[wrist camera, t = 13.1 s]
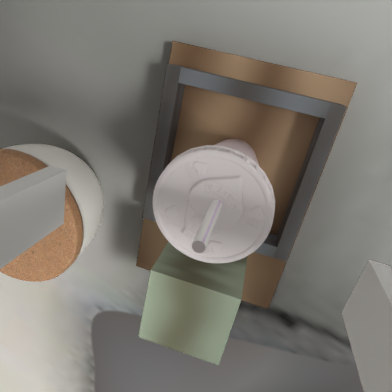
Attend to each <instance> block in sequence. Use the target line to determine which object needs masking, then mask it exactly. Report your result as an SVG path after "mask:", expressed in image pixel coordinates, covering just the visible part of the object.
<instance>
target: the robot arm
mask: <svg viewBox="0 0 392 392" xmlns="http://www.w3.org/2000/svg"><path fill="white" fill-rule="evenodd" d="M65 186H66V170H64V169H61V168H58V167H54V166H48V167H46V168H43V169H41V170H39V171H36V172H34V173H31V174H29V175H27V176H24V177H22V178H19V179H17V180H15V181H12V182H10V183H7V184H5V185H3V186H0V269H1V268H2V267H4V266H5V265H7V264H8V263H9V262H11V261H12V260H14V259H15V258H16V257H18V256H19V255H21V254H22V253H23V252H25V251H26V250H27V249H29V248H30V247H32V246H33V245H34V244H36V243H37V242H39V241H40V240H41V239H43V238H44V237H46V236H47V235H48V234H50V233H51V232H53V231H54V230H55V229H57V228H58V227H60V226H61V225H62V224H64V208H65ZM341 313H342V316H343V320H344V323H345V327H346V331H347V334H348V338H349V341H350V345H351V348H352V352H353V356H354V359H355V363H356V366H357V370H358V373H359V377H360V381H361V384H362V388H363V391H364V392H392V270H391V268H390V266H389V265H386V264H382V263H379V262H376V261H372V260H368V262H367V264H366V266H365V268H364V270H363V272H362V274H361V276H360V277H359V279H358V281H357V283H356V285H355V287H354V289H353V291H352V293H351V295H350V297H349V299H348V300H347V302H346V304H345V306H344V308H343V310H342V312H341Z"/></svg>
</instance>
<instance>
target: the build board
mask: <svg viewBox="0 0 392 392" xmlns="http://www.w3.org/2000/svg"><path fill="white" fill-rule="evenodd" d="M356 85H357V83H356V82H351V81H347V80H342V79H338V78H334V77H329V76H325V75H320V74H316V73H312V72H307V71H303V70H298V69H294V68H290V67H285V66H281V65H277V64H272V63H268V62H263V61H259V60H255V59H250V58H246V57H241V56H237V55H233V54H228V53H224V52H219V51H215V50H211V49H206V48H202V47H197V46H193V45H189V44H184V43H180V42H175V41H172V48H171V54H170V60H169V64H167V67H166V74H165V80H164V86H163V92H162V99H161V105H160V111H159V117H158V124H157V130H156V136H155V142H154V149H153V155H152V161H151V167H150V174H149V180H148V186H147V192H146V199H145V205H144V211H143V217H142V218H144V220H143V226H142V232H141V239H140V245H139V251H138V257H137V263H136V266H138V267H141V268H144V269H147V270H150V271H151V272H150V277H149V282H148V288H147V293H146V298H145V304H144V309H143V315H142V320H141V326H140V331H139V337H140V338H143V339H146V340H148V341H152V342H154V343H157V344H160V345H162V346H165V347H168V348H171V349H174V350H177V351H179V352H182V353H185V354H188V355H190V356H194V357H196V358H199V359H202V360H204V361H208V362H210V363H213V364H216V365H219V363H220V360H221V357H222V354H223V352H224V349H225V345H226V343H227V340H228V337H229V334H230V331H231V328H232V326H233V323H234V320H235V317H236V314H237V311H238V308H239V305H240V302H241V300H242V301H245V302H248V303H251V304H254V305H257V306H260V307H263V308H266V309H268V308H269V305H270V302H271V300H272V297H273V295H274V292H275V290H276V287H277V285H278V282H279V280H280V277H281V275H282V272H283V270H284V267H285V265H286V262H287V259H288V257H289V254H290V252H291V249H292V247H293V244H294V242H295V239H296V237H297V234H298V232H299V229H300V227H301V224H302V222H303V219H304V216H305V214H306V211H307V209H308V206H309V204H310V201H311V199H312V196H313V194H314V191H315V189H316V186H317V184H318V181H319V179H320V176H321V173H322V171H323V168H324V166H325V163H326V161H327V158H328V156H329V153H330V151H331V148H332V146H333V143H334V141H335V138H336V135H337V133H338V130H339V128H340V125H341V123H342V120H343V118H344V115H345V113H346V110H347V108H348V105H349V103H350V100H351V98H352V95H353V92H354V90H355V87H356ZM227 139H239V140H242V141H244V142H246V143H247V144H249V145H250V146H251V147H252V149H253V150H254V152H255V155H256V158H257V161H258V164H259V166H260V168H261V169H262V170H263V171H264V172H265V174H266V175H267V177H268V179H269V181H270V183H271V185H272V188H273V193H274V198H275V212H274V219H273V224H272V227H271V230H270V232H269V234H268V236H267V238H266V239H265V241H264V242H263V243H262V245H261V246H260V247H259V248H258V249H257V250H255V251H254V252H253V253H251V254H250V255H248V256H246V257H245V258H242V259H240V260H237V261H234V262H229V263H207V262H202V261H199V260H196V259H193V258H191V257H189V256H187V255H185V254H183V253H182V252H180V251H179V250H177V249H176V248H175V247H174V246H172V245H171V244H170V243H169V242H168V240H167V239H166V238H165V237H164V235H163V234H162V232H161V231H160V229H159V227H158V225H157V222H156V219H155V216H154V212H153V193H154V189H155V185H156V183H157V180H158V179H159V177H160V175H161V174H162V172H163V171H164V170H165V168H166V166H167V165H168V164H169V163H170V162H171V161H172V160H173V159H174V158H176V157H177V156H178V155H180V154H182V153H184V152H185V151H187V150H189V149H191V148H196V147H200V146H205V145H215V144H217V143H219V142H221V141H224V140H227Z"/></svg>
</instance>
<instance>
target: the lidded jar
mask: <svg viewBox="0 0 392 392" xmlns="http://www.w3.org/2000/svg"><path fill="white" fill-rule="evenodd" d="M48 166H54V167H58V168H61V169H64V170H66V186H65V208H64V224H62V225H61V226H60V227H58V228H57V229H55V230H54V231H53V232H51V233H50V234H48V235H47V236H46V237H44V238H43V239H41V240H40V241H39V242H37V243H36V244H34V245H33V246H32V247H30V248H29V249H27V250H26V251H25V252H23V253H22V254H21V255H19V256H18V257H16V258H15V259H14V260H12V261H11V262H9V263H8V264H7V265H5V266H4V267H2V268H1V269H0V272H2V273H4V274H6V275H8V276H11V277H13V278H16V279H20V280H25V281H45V280H50V279H52V278H55V277H57V276H59V275H60V274H62V273H63V272H64V271H65V270H66V269H67V268H68V267H69V266H70V265H71V264H72V263H73V262H74V261H75V260H76V258H77V257H78V256H79V255H80V254H81V253H82V252H83V251H84V250H85V249H86V248H87V246H88V245H89V244H90V242H91V241H92V239H93V238H94V236H95V235H96V233H97V231H98V229H99V227H100V224H101V221H102V217H103V212H104V198H103V192H102V188H101V185H100V183H99V181H98V179H97V177H96V175H95V174H94V172H93V171H92V169H91V168H90V167H89V166H88V165H87V164H86V163H85V162H84V161H83V160H82V159H80V158H79V157H78V156H76V155H75V154H73V153H71V152H69V151H67V150H65V149H62V148H60V147H56V146H52V145H47V144H22V145H15V146H9V147H5V148H0V186H3V185H5V184H7V183H10V182H12V181H15V180H17V179H19V178H22V177H24V176H27V175H29V174H31V173H34V172H36V171H39V170H41V169H43V168H46V167H48Z"/></svg>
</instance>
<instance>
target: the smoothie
mask: <svg viewBox="0 0 392 392" xmlns="http://www.w3.org/2000/svg"><path fill="white" fill-rule="evenodd" d="M153 212H154V216H155V219H156V222H157V225H158V227H159V229H160V231H161V232H162V234H163V235H164V237H165V238H166V239H167V240H168V242H169V243H170V244H171V245H172V246H174V247H175V248H176V249H177V250H179V251H180V252H182V253H183V254H185V255H187V256H189V257H191V258H193V259H196V260H199V261H202V262H207V263H229V262H234V261H237V260H240V259H242V258H245V257H246V256H248V255H250V254H251V253H253V252H254V251H255V250H257V249H258V248H259V247H260V246H261V245H262V243H263V242H264V241H265V239H266V238H267V236H268V234H269V232H270V230H271V227H272V224H273V219H274V212H275V198H274V193H273V188H272V185H271V183H270V181H269V179H268V177H267V175H266V174H265V172H264V171H263V170H262V169H261V168H260V166H259V164H258V161H257V158H256V155H255V152H254V150H253V149H252V147H251V146H250V145H249V144H247V143H246V142H244V141H242V140H239V139H227V140H224V141H221V142H219V143H217V144H215V145H205V146H200V147H196V148H191V149H189V150H187V151H185V152H184V153H182V154H180V155H178V156H177V157H176V158H174V159H173V160H172V161H171V162H170V163H169V164H168V165H167V166H166V168H165V170H164V171H163V172H162V174H161V175H160V177H159V179H158V180H157V183H156V185H155V189H154V193H153Z"/></svg>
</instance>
